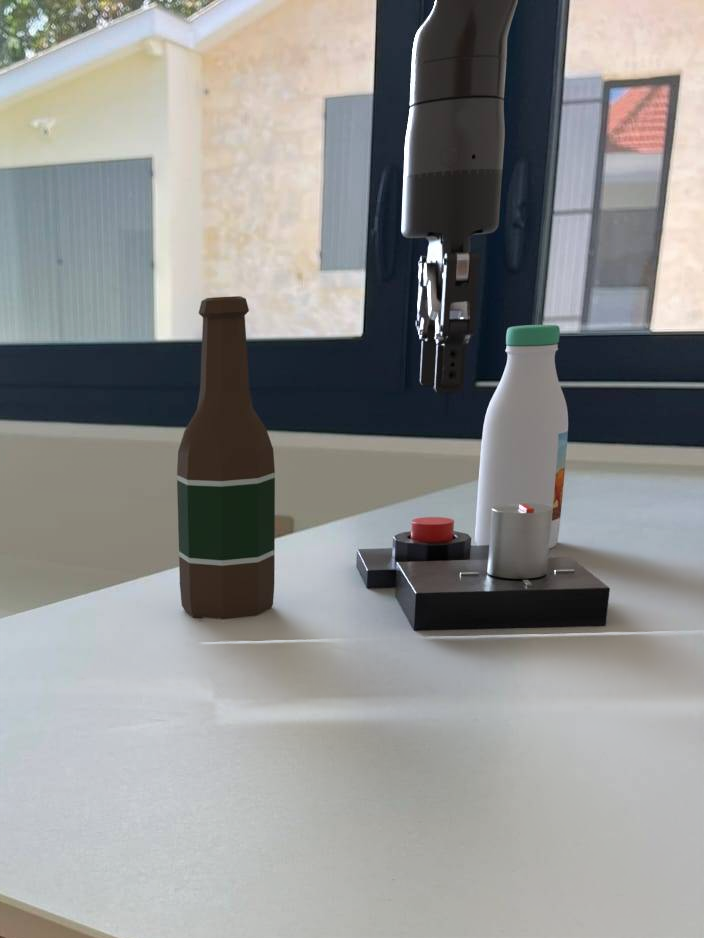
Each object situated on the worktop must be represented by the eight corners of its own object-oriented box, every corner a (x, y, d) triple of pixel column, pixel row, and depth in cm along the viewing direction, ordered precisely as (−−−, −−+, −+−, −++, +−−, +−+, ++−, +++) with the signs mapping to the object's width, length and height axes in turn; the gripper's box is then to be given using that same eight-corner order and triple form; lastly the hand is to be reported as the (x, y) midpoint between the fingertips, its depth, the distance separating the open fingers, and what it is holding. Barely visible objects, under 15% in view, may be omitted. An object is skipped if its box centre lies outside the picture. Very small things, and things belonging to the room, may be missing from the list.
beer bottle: (272, 621, 97) (273, 295, 88) (174, 621, 99) (165, 300, 89) (276, 597, 104) (277, 293, 95) (185, 598, 106) (178, 298, 96)
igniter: (488, 563, 112) (491, 525, 111) (509, 585, 104) (513, 544, 103) (356, 567, 114) (357, 529, 112) (366, 589, 105) (368, 549, 104)
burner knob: (481, 568, 97) (486, 500, 95) (537, 565, 97) (543, 498, 95) (495, 580, 93) (500, 510, 91) (553, 578, 93) (560, 507, 91)
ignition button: (449, 536, 109) (450, 516, 108) (456, 544, 106) (457, 523, 105) (408, 537, 109) (408, 517, 109) (413, 545, 106) (414, 525, 105)
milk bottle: (536, 557, 114) (556, 327, 106) (459, 549, 119) (474, 328, 111) (571, 542, 119) (592, 322, 111) (496, 535, 124) (512, 323, 116)
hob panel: (567, 592, 101) (571, 554, 100) (605, 627, 91) (610, 585, 90) (394, 597, 102) (396, 559, 101) (413, 632, 92) (415, 590, 91)
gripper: (522, 158, 89) (504, 395, 96) (483, 173, 102) (470, 381, 109) (417, 164, 90) (406, 399, 96) (392, 179, 103) (384, 384, 109)
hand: (440, 389), depth 103 cm, fingers open, 7 cm apart
